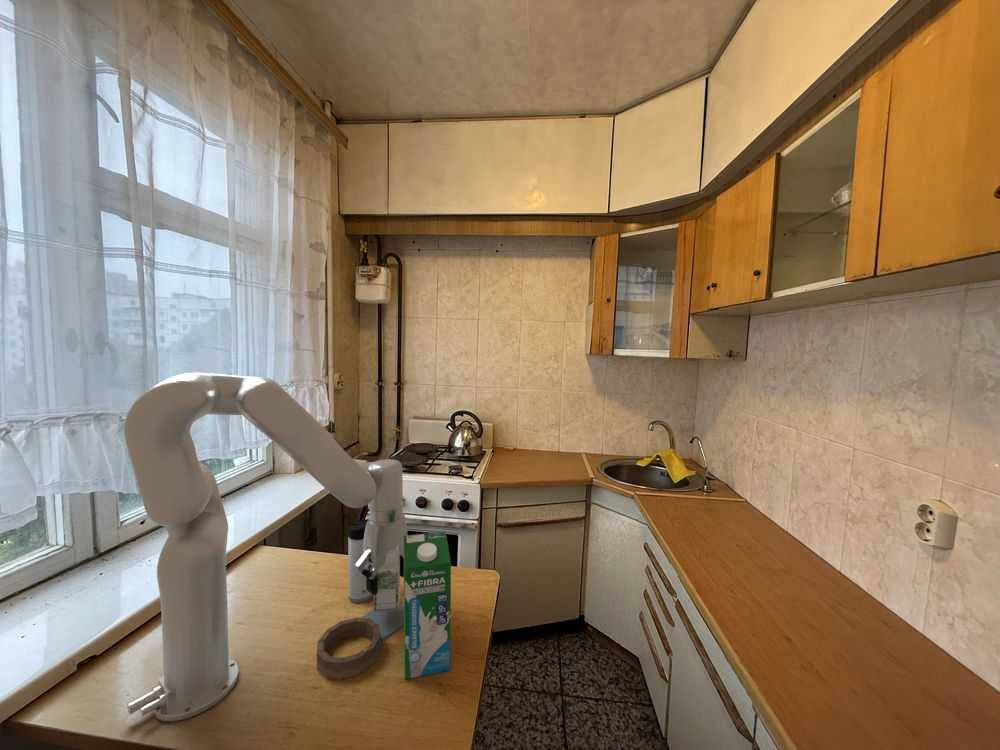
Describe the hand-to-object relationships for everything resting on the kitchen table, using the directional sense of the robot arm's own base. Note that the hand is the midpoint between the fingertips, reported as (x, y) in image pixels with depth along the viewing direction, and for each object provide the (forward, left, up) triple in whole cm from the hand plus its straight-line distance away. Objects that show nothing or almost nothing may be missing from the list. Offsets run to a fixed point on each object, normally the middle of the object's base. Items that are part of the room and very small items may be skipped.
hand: (387, 583), depth 90 cm
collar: (-12, -2, -9) cm, 15 cm away
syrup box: (0, 0, -5) cm, 5 cm away
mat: (0, 0, -9) cm, 9 cm away
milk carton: (-2, -16, -9) cm, 19 cm away
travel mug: (+1, +13, -9) cm, 15 cm away
